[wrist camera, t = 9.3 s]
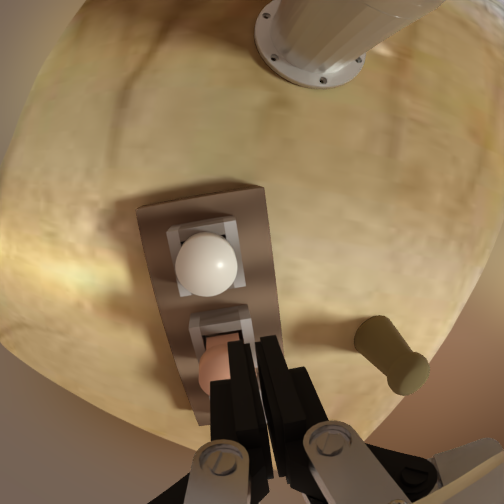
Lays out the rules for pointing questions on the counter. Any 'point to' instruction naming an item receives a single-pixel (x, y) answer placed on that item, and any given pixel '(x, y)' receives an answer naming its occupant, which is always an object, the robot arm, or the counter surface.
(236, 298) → the button board
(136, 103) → the counter surface
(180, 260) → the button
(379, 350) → the cork
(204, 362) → the button middle
